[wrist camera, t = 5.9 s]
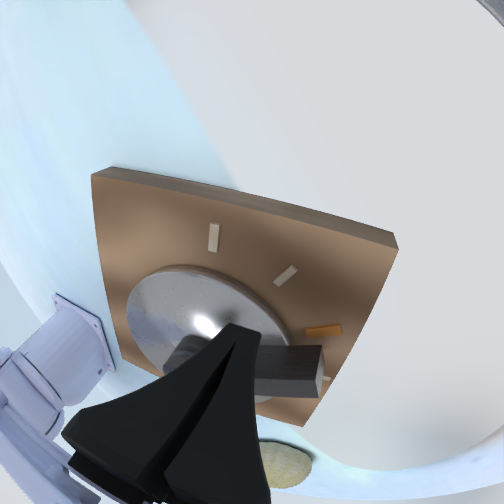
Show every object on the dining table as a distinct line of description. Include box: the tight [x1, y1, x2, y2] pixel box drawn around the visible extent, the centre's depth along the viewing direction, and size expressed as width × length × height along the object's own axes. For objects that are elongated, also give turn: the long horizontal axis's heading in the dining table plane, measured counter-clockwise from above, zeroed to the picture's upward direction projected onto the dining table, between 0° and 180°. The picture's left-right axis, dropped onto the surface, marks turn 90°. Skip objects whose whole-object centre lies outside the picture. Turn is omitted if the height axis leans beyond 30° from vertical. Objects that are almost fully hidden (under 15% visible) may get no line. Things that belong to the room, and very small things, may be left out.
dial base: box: [91, 167, 399, 427], centre depth 19 cm, size 18×18×2 cm
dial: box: [126, 265, 325, 403], centre depth 17 cm, size 14×12×4 cm
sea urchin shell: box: [259, 441, 312, 488], centre depth 28 cm, size 9×8×8 cm
